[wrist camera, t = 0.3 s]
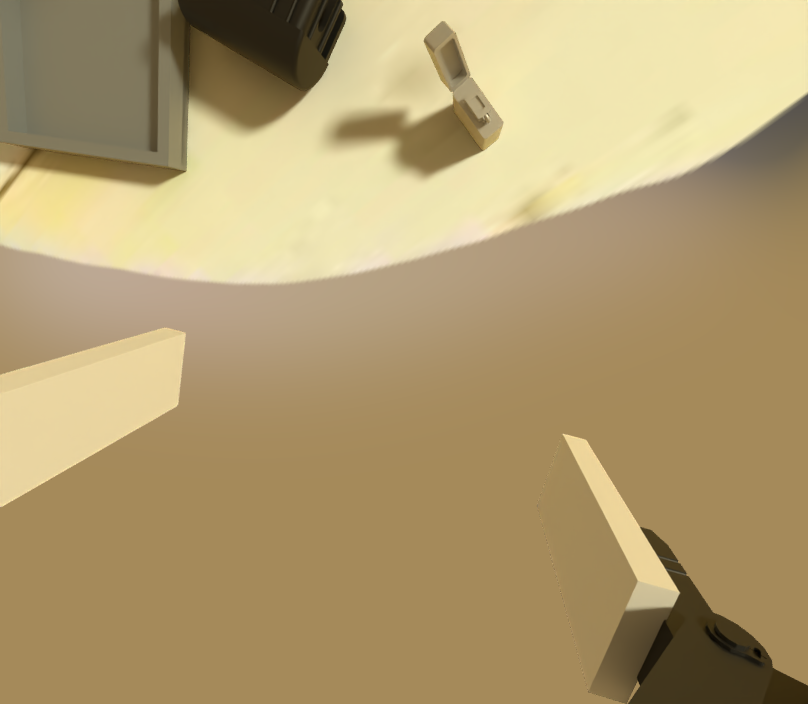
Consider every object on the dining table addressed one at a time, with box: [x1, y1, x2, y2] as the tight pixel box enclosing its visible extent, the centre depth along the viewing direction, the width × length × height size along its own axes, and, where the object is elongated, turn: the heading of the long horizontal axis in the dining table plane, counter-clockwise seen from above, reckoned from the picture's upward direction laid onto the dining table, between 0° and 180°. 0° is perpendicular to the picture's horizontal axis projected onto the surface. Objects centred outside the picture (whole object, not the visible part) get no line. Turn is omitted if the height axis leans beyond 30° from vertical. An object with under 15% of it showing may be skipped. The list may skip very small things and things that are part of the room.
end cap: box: [178, 0, 346, 90], centre depth 34 cm, size 10×7×7 cm
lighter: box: [424, 21, 503, 150], centre depth 33 cm, size 7×2×8 cm, turn 38°
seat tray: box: [0, 0, 190, 171], centre depth 38 cm, size 18×16×3 cm
